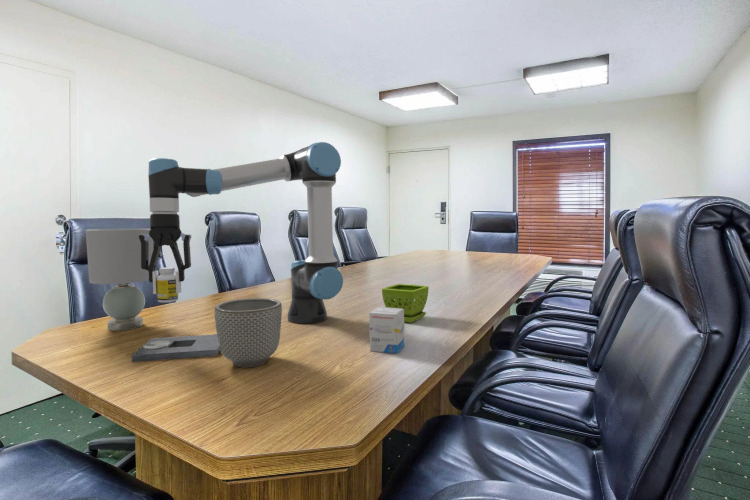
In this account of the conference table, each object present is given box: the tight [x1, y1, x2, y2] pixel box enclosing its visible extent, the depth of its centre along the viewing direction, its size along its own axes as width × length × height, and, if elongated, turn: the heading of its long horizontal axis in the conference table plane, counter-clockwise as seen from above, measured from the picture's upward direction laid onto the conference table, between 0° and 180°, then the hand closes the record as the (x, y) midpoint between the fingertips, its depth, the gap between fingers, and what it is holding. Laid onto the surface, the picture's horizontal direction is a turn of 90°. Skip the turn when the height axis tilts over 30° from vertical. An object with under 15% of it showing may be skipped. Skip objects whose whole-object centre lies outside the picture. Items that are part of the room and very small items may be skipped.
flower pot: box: [381, 283, 430, 323], centre depth 154 cm, size 14×14×13 cm
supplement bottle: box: [156, 266, 179, 304], centre depth 117 cm, size 5×5×10 cm
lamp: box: [85, 228, 154, 332], centre depth 144 cm, size 20×20×35 cm
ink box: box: [368, 306, 405, 355], centre depth 120 cm, size 9×8×12 cm
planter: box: [213, 297, 283, 369], centre depth 108 cm, size 17×17×16 cm
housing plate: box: [131, 333, 221, 363], centre depth 120 cm, size 22×16×2 cm
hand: (167, 292), depth 117 cm, fingers closed on supplement bottle, 5 cm apart
